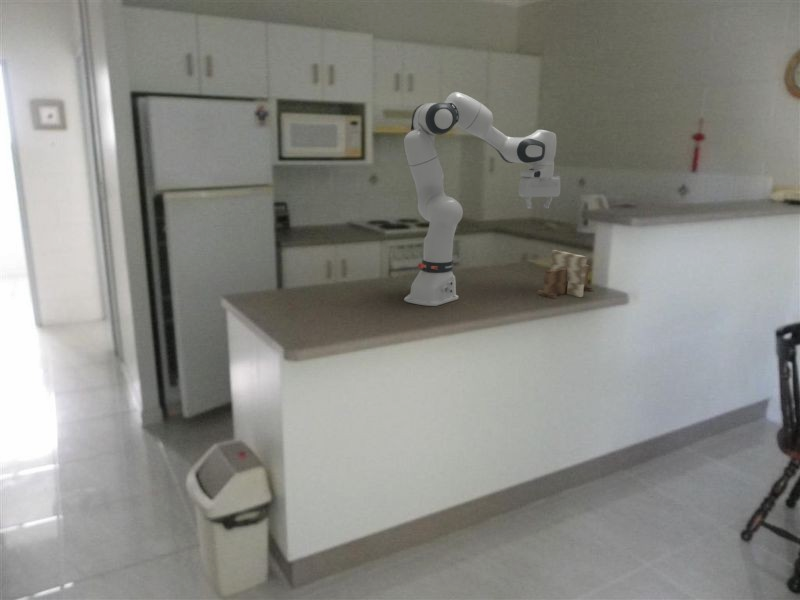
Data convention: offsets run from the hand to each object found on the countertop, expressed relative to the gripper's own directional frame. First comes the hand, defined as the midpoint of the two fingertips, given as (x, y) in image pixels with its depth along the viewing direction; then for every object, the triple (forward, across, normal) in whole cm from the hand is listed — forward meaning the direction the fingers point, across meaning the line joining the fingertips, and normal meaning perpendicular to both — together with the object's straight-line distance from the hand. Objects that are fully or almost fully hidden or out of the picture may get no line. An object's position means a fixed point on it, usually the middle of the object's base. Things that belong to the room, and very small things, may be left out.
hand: (537, 208), depth 237 cm
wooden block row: (+33, -9, +11) cm, 36 cm away
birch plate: (+33, -9, +11) cm, 36 cm away
